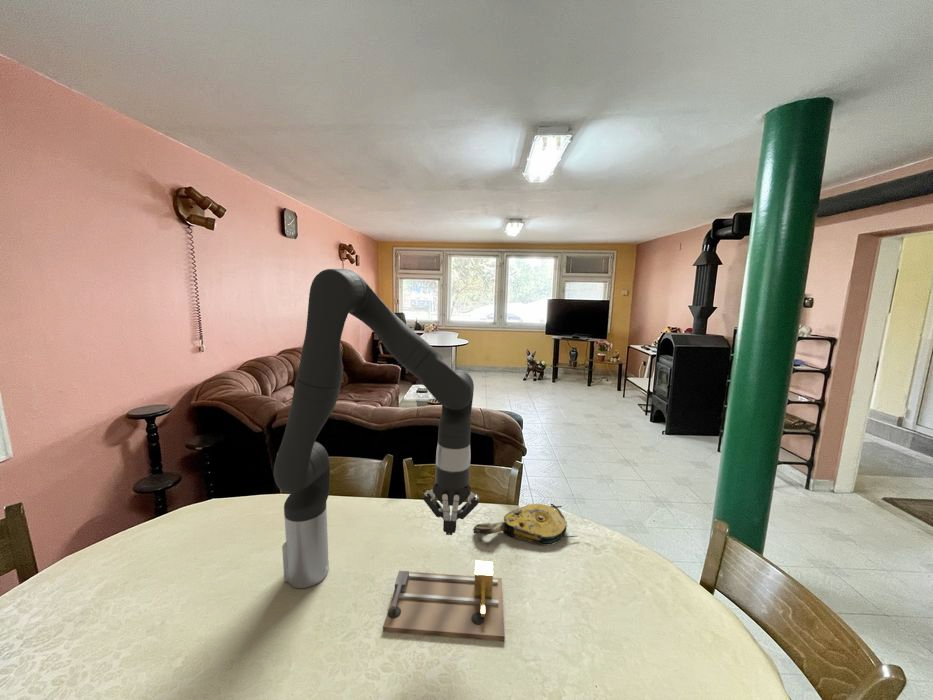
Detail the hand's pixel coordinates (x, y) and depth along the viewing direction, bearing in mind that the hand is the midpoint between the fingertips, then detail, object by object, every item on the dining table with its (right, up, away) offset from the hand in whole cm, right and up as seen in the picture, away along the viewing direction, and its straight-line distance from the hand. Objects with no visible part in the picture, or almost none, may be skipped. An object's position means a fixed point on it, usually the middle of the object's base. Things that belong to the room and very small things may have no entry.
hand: (449, 532), depth 82 cm
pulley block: (+20, -13, +26) cm, 35 cm away
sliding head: (+8, -15, -1) cm, 17 cm away
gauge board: (-1, -16, -1) cm, 16 cm away
